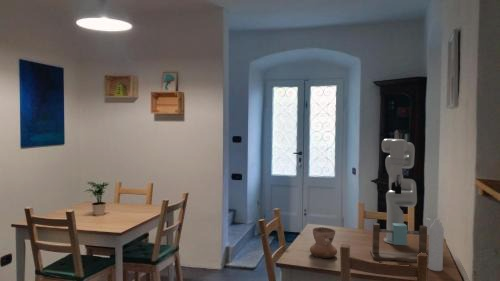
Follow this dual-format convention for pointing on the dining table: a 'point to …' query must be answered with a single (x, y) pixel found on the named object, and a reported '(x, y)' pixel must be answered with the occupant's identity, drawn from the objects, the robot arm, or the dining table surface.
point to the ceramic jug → (323, 243)
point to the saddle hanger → (399, 234)
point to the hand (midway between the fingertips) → (396, 192)
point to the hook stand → (396, 255)
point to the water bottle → (435, 245)
